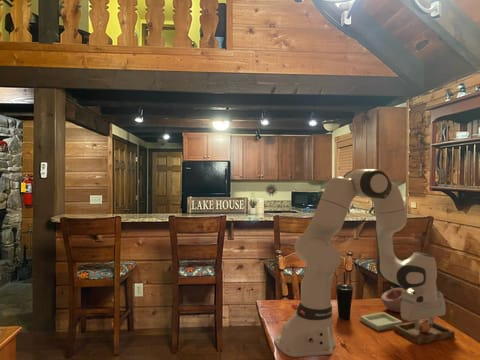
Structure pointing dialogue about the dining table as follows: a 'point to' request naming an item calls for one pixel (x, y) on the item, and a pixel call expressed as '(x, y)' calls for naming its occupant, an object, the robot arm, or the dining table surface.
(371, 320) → the tray
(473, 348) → the dining table surface
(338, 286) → the drinking cup
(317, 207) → the robot arm
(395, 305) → the mortar and pestle
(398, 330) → the dish
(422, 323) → the ball
